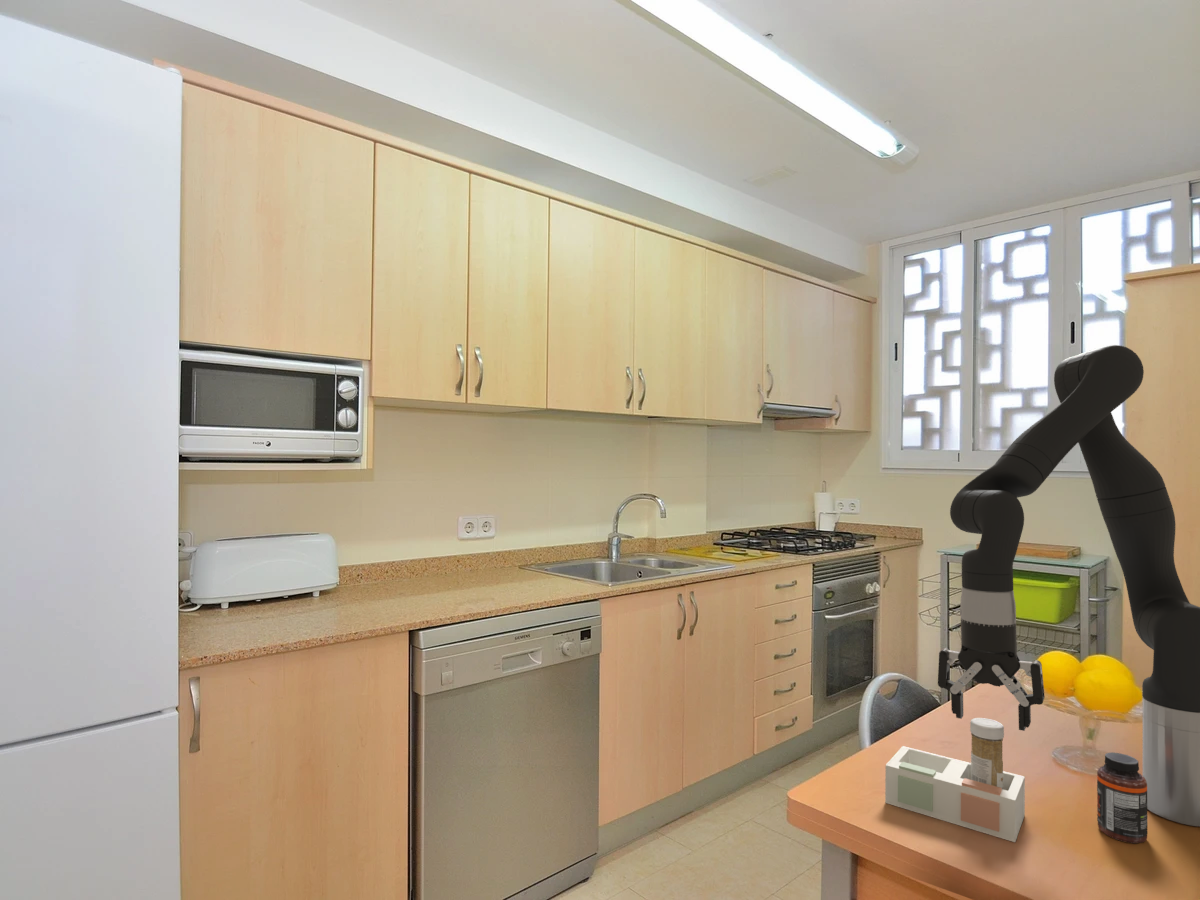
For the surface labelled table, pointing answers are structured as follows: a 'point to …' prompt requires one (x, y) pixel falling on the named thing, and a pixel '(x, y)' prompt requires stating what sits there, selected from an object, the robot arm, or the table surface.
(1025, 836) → the table surface
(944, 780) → the socket block
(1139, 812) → the supplement bottle
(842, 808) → the table surface
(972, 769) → the spice jar
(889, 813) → the table surface
